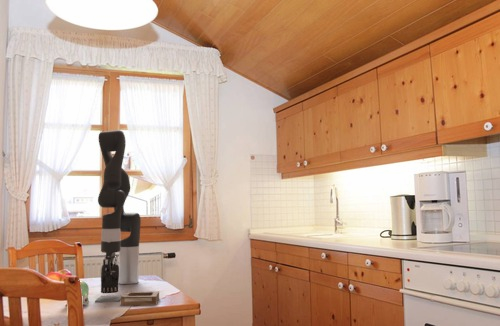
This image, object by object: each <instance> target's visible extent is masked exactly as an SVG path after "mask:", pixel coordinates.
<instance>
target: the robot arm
mask: <svg viewBox="0 0 500 326" xmlns="http://www.w3.org/2000/svg"><path fill="white" fill-rule="evenodd" d="M98 144H99V148H100V149H99V150H100V152H101V156H102V159H103V162H104V166H105V168H104V171H103V183H102V186H101V189H100V191H99V193H98V197H97V203H98V205H99V207H101V208H104V209H107V208H108V209H109V208H111V209H113V212H110V213H105V214H103V215H102V219H101V220H102V223H101V228H102V229H101V236H100V237H101V238H100V242H101V243H100V252H101V253H102V254H103V253H105V256H104V259H103V260H102V261H103V262H102V263H103V264H102V265H103V266H104V274H105V275H106V282H105V284H106V285H110V284H111V283H112V269H113V268H114V263H116V264H118V265H119V282H118V284H121V285H133V284H137V283H139V265H140V240H141V239H140V238H141V236H140V235H141V224H142V223H141V222H142V220H141V215H140V214H139V213H138V212H126V211H125V210H124V206H125V204H126V200H127V198H128V196H129V194H130V192H131V184H130V183H131V182H130V178H129V175H128V173H127V171H126V170H125V169H124V168H122V167H123V162H124V157H125V151H126V136H125V133H124V132H123V130H120V129H117V130H106V131H101V132H100V133H98ZM111 152H115V153H114V154H113V155H112V153H111ZM122 233H129V236H128V237H125V238H123V239H122V238H121V237H122ZM116 253H118V255H117V254H116ZM107 269H109V271H107Z"/></svg>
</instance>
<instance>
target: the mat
mask: <svg viewBox="0 0 500 326" xmlns="http://www.w3.org/2000/svg"><path fill="white" fill-rule="evenodd" d="M122 295H123V294H122ZM122 295H114V294H113V295H112V294H111V295H100V296H99V297H98V298H97V299H95V300H94V301H95V303H112V302H113V303H114V302H115V303H117V302H121V296H122Z"/></svg>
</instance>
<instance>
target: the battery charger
mask: <svg viewBox="0 0 500 326" xmlns="http://www.w3.org/2000/svg"><path fill="white" fill-rule="evenodd" d="M107 271H109V269H107ZM105 282H106V275H105V274H104V266H103V264H101V268H100V293H101V294H113V293H118V292H119V263H117V264H116V263H114V268H113V269H112V283H111V284H110V285H106V284H105Z"/></svg>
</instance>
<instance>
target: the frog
mask: <svg viewBox="0 0 500 326" xmlns="http://www.w3.org/2000/svg"><path fill="white" fill-rule="evenodd" d="M80 282H81V289H82V296H83V305H84V306H85V305H86V306H87V305H88V304H89V303H90V300H89V290H90V289H89V285H88V283H87V282H85V281H84V280H80ZM66 306H68V305H67V303H66V304H65V307H66Z"/></svg>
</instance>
